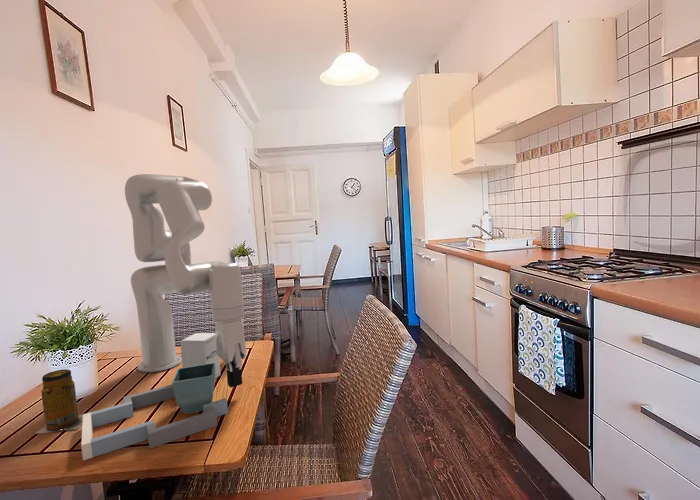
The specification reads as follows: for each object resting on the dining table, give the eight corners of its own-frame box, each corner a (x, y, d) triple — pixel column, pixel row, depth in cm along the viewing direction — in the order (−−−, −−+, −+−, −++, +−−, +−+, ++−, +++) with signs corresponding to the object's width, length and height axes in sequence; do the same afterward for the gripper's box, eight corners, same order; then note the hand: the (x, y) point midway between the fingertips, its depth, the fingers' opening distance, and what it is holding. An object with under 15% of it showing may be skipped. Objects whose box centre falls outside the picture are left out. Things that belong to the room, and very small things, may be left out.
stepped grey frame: (84, 420, 89) (83, 407, 88) (207, 385, 104) (206, 375, 104) (82, 471, 70) (80, 455, 69) (233, 420, 85) (232, 407, 85)
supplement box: (207, 386, 104) (203, 340, 103) (183, 385, 105) (178, 340, 104) (221, 375, 111) (218, 332, 110) (198, 374, 112) (195, 332, 111)
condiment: (57, 417, 91) (51, 368, 90) (94, 414, 92) (89, 365, 91) (35, 434, 84) (28, 381, 83) (76, 430, 84) (69, 377, 83)
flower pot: (175, 420, 86) (171, 382, 85) (180, 403, 95) (177, 368, 94) (216, 413, 89) (212, 375, 88) (218, 396, 97) (215, 362, 96)
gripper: (205, 311, 99) (212, 380, 100) (221, 321, 86) (229, 400, 88) (234, 306, 103) (240, 372, 104) (253, 315, 91) (260, 390, 92)
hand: (235, 384), depth 96 cm, fingers closed
